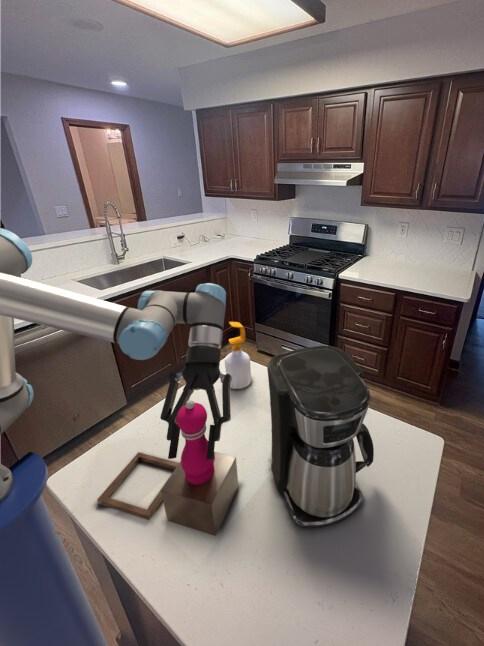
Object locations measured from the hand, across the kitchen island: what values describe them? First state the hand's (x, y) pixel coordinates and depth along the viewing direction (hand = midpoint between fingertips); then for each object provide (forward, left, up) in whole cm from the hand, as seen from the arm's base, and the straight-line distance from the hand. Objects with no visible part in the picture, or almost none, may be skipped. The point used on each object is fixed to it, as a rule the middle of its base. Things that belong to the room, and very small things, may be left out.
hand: (191, 458), depth 63 cm
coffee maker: (+23, +20, -19) cm, 36 cm away
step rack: (-10, +3, -18) cm, 21 cm away
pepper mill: (-1, +3, -9) cm, 9 cm away
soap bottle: (-12, +48, -19) cm, 53 cm away
